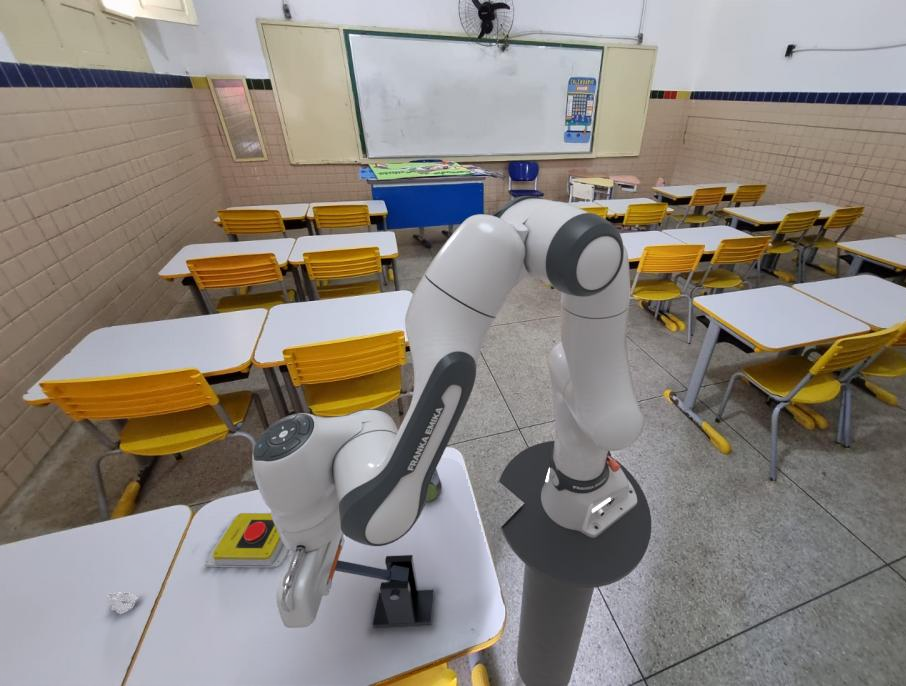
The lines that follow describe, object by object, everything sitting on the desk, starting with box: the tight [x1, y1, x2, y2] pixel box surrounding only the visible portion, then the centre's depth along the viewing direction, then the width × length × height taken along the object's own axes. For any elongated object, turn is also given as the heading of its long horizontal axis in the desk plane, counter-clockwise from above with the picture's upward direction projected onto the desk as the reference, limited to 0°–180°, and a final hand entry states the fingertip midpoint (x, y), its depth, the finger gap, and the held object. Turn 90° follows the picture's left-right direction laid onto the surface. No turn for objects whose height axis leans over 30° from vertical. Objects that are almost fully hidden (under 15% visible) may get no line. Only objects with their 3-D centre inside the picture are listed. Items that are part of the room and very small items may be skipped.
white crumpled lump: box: [106, 591, 139, 615], centre depth 67 cm, size 5×2×4 cm, turn 93°
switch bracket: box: [372, 554, 435, 629], centre depth 65 cm, size 10×6×13 cm, turn 93°
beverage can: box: [426, 469, 442, 502], centre depth 85 cm, size 6×7×12 cm
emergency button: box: [204, 512, 291, 569], centre depth 77 cm, size 9×4×15 cm
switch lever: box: [328, 546, 409, 583], centre depth 61 cm, size 13×5×2 cm, turn 93°
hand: (332, 567), depth 60 cm, fingers closed on switch lever, 5 cm apart
